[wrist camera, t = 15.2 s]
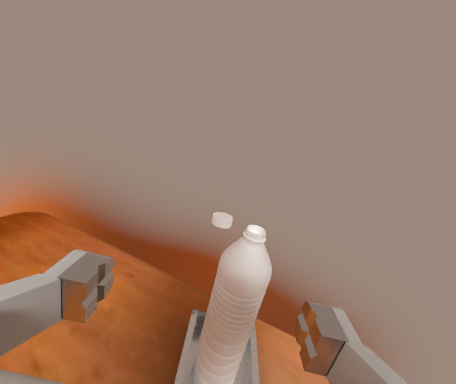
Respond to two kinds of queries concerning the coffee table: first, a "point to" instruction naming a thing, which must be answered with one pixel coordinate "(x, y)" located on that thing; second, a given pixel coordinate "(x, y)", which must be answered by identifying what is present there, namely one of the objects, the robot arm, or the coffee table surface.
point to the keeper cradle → (248, 368)
